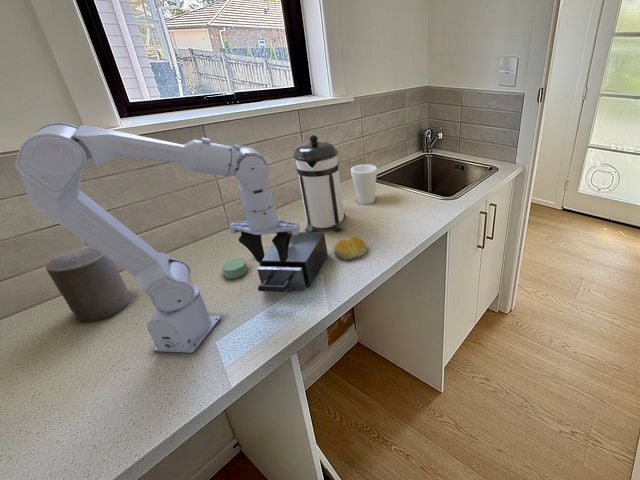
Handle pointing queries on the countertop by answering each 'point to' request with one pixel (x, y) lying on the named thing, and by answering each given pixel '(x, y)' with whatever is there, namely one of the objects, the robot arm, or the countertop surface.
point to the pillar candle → (89, 283)
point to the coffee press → (320, 184)
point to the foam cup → (364, 182)
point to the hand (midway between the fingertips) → (272, 260)
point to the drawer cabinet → (302, 254)
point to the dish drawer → (281, 277)
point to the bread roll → (350, 248)
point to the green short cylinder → (234, 268)
